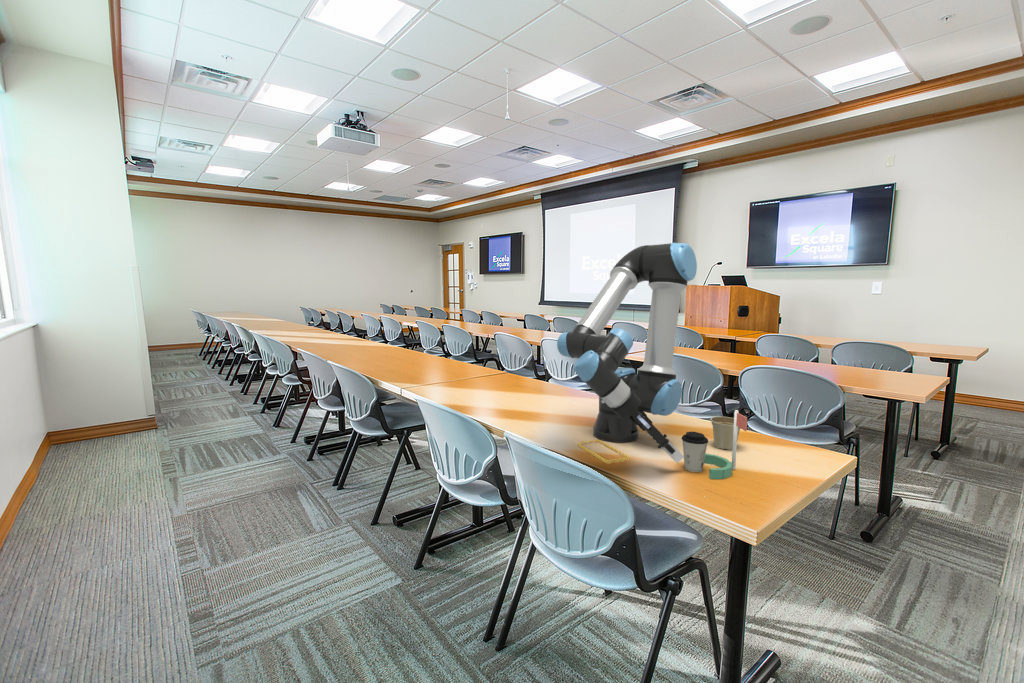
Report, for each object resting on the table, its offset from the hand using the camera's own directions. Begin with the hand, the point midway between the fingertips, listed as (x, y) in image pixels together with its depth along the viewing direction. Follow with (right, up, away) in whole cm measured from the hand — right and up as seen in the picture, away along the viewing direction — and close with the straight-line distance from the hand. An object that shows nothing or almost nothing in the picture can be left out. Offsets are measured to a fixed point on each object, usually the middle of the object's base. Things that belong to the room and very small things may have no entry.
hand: (679, 458), depth 124 cm
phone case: (-18, -3, +16) cm, 24 cm away
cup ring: (+10, -3, +2) cm, 11 cm away
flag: (+16, -4, -1) cm, 16 cm away
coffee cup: (+5, -4, +2) cm, 6 cm away
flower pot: (+22, -2, +20) cm, 29 cm away
